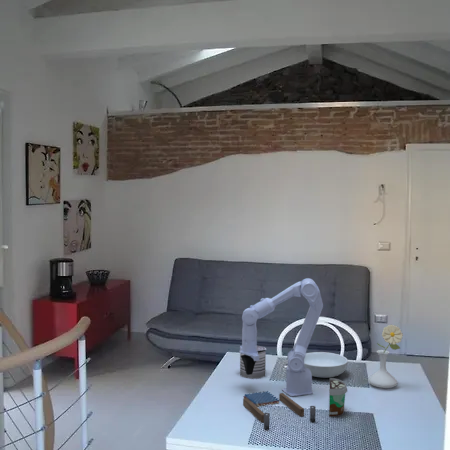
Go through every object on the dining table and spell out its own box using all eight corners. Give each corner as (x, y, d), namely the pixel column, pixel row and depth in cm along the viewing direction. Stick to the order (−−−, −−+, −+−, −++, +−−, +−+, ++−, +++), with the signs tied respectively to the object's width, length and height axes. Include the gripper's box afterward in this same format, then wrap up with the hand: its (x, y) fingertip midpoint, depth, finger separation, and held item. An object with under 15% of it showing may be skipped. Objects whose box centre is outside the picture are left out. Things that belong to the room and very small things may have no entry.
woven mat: (242, 398, 199) (242, 393, 198) (267, 395, 202) (267, 390, 202) (253, 409, 189) (253, 403, 189) (280, 404, 193) (280, 399, 193)
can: (234, 374, 224) (234, 347, 224) (250, 368, 233) (250, 341, 232) (255, 380, 217) (255, 352, 216) (271, 374, 226) (271, 346, 225)
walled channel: (282, 399, 197) (282, 392, 196) (304, 415, 182) (304, 408, 181) (243, 405, 191) (243, 398, 191) (261, 422, 176) (261, 415, 176)
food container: (347, 419, 179) (348, 390, 178) (329, 418, 180) (329, 389, 179) (346, 406, 191) (347, 378, 190) (329, 404, 192) (329, 377, 191)
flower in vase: (366, 388, 209) (367, 325, 208) (369, 379, 219) (370, 319, 218) (400, 392, 204) (402, 328, 203) (402, 383, 214) (403, 322, 213)
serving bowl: (311, 364, 240) (311, 349, 240) (355, 372, 228) (355, 357, 227) (288, 376, 223) (289, 360, 223) (335, 386, 211) (335, 369, 211)
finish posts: (313, 420, 178) (313, 405, 178) (316, 422, 177) (316, 407, 176) (262, 428, 172) (263, 413, 171) (265, 430, 170) (265, 415, 170)
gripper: (233, 335, 210) (232, 369, 211) (247, 345, 197) (246, 381, 197) (249, 334, 213) (248, 367, 213) (264, 343, 199) (264, 379, 200)
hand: (249, 374), depth 206 cm, fingers closed
